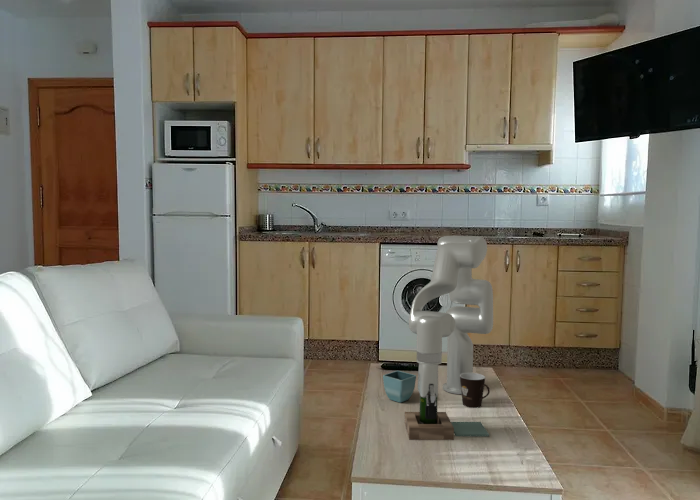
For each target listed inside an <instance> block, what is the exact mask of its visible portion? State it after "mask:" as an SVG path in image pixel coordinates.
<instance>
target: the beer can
mask: <svg viewBox="0 0 700 500" xmlns="http://www.w3.org/2000/svg"><path fill="white" fill-rule="evenodd" d="M427 395H430V394H427ZM438 396H439V395H438ZM438 396H437V397H436V406H437V407H438V399H439V397H438ZM429 399H430V398H428V401H429ZM425 405H426V397H421V395H420V394H419V409H418V410H419V411H418V412H419V424H437V412H438V409H437V410H436V419H426V418H425Z"/></svg>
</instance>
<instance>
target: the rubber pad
mask: <svg viewBox="0 0 700 500" xmlns="http://www.w3.org/2000/svg"><path fill="white" fill-rule="evenodd" d="M451 423H452V425H453V427H454V437H490V433H489V432H488V431H487V429H486V428H485V426H484V425H483V423H482V421H451Z"/></svg>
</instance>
